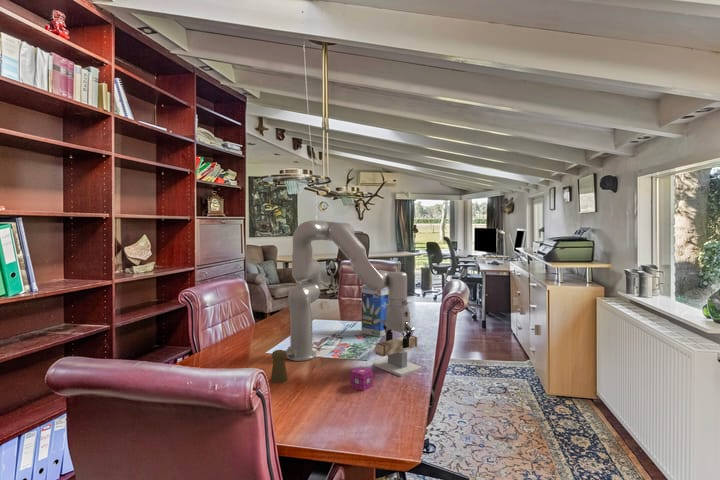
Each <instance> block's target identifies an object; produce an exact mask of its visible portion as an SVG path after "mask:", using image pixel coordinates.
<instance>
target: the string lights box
mask: <svg viewBox="0 0 720 480" xmlns="http://www.w3.org/2000/svg"><path fill="white" fill-rule="evenodd" d="M387 306H388V288H383V289H381V290H380V291H372V290H370V289H369V288H368V287H366V285H365V284H361V333H362V334H367V335H370V336H374V337H379V338H382V337H386V333H385V329H384V328H383V324H382V321H383V320H384V319H386V312H387Z"/></svg>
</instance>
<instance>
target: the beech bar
mask: <svg viewBox="0 0 720 480" xmlns="http://www.w3.org/2000/svg"><path fill="white" fill-rule="evenodd" d="M403 338H404V337H403V336H402V337H397V338H393V340H389V341H386V340H385V341H381V342H377V343H375V344H374V345H375V346H374V347H375V348H374V349H375V355H376V356H378V357H379V356H380V357H382V358H383V357H386V356H387V357H388V355H390V354H394V353H397V352H400V351H406V350H409V349H413V348H417V347H418V336H416V335H413V334H412V335H411V337H410V338H409V347H408V348H403Z"/></svg>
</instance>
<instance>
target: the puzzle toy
mask: <svg viewBox="0 0 720 480" xmlns="http://www.w3.org/2000/svg"><path fill="white" fill-rule="evenodd" d="M373 386H374V370H372V369H369V368H366V367H363V366H359V367H357V368H355V369H352V370H351V371H350V387H351V388H353V389H356V390H358V391H361V392H364V391H366V390H368V389H370V388H372V387H373Z"/></svg>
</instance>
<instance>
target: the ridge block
mask: <svg viewBox="0 0 720 480" xmlns="http://www.w3.org/2000/svg"><path fill="white" fill-rule="evenodd" d="M372 366H374V367H377V368H379V369H381V370H384V371H386V372H389V373H391V374H392V375H395V376H398V377H404V376H407V375H410V374H413V373H417V372H420V371H421V370H423V366H421V365H418V364H416V363H413V362H410V361H408V351H406V350H404V351H400V352H397V353H394V354H390V355H387V358H385V359H382V360H381V359H380V360H378V361H374V362H373V363H372Z"/></svg>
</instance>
